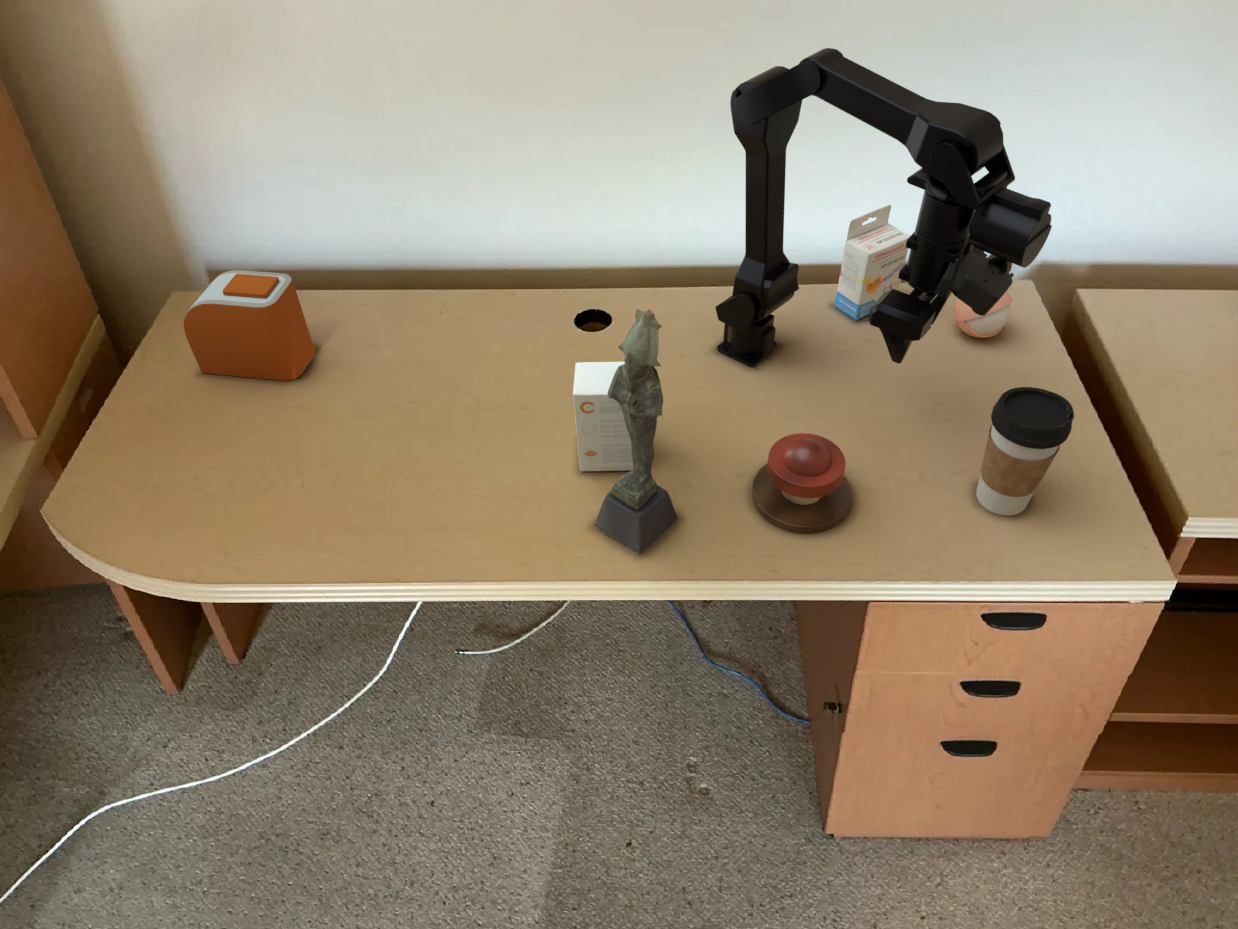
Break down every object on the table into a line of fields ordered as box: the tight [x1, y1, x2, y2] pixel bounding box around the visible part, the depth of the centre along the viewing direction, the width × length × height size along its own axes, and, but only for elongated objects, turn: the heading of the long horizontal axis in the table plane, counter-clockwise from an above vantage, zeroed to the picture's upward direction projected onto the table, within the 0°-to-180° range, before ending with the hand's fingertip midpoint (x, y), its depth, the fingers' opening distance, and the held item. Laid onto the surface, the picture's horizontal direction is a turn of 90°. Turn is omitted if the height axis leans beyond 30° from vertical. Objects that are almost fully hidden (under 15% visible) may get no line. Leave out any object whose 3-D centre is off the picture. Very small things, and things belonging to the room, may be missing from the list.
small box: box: [572, 361, 633, 472], centre depth 117 cm, size 8×6×13 cm
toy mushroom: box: [751, 432, 853, 534], centre depth 112 cm, size 12×12×9 cm
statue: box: [594, 308, 679, 555], centre depth 102 cm, size 7×8×30 cm
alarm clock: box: [183, 269, 316, 382], centre depth 133 cm, size 15×8×14 cm, turn 80°
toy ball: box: [953, 290, 1013, 339], centre depth 135 cm, size 8×8×8 cm
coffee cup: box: [975, 386, 1075, 517], centre depth 109 cm, size 8×8×15 cm
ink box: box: [834, 204, 911, 321], centre depth 138 cm, size 8×5×15 cm, turn 123°
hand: (912, 342), depth 114 cm, fingers open, 9 cm apart
